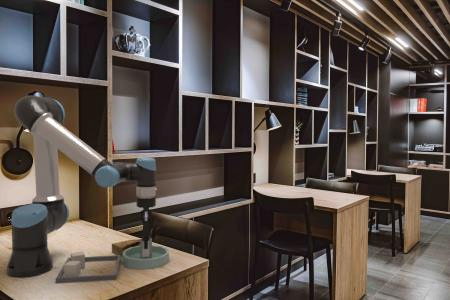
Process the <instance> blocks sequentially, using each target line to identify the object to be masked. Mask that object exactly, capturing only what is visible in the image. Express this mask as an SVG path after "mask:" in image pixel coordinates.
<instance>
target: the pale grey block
mask: <svg viewBox="0 0 450 300" xmlns="http://www.w3.org/2000/svg"><path fill="white" fill-rule="evenodd" d="M85 257H86V255H85V253H84V251H82V250H81V251H76V252H70V258H71V261H80V263H81V269H84V268H86V262H85Z"/></svg>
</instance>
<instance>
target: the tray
mask: <svg viewBox="0 0 450 300" xmlns="http://www.w3.org/2000/svg"><path fill="white" fill-rule="evenodd" d="M69 261H71V257H68V258H67V259H66V261H65V262H64V264H63V266H62V268H61V269H60V271H59V272H58V274H57V276H56V277H55V283H56V284H62V283H63V284H64V283H80V282H81V283H82V282H94V281H95V282H96V281H97V282H99V281H112V280H114V281H115V280H117V279H118V274H119V269H120V265H121V261H122V257H121V255H116V254H112V255H99V256H98V255H95V256H85V263H86V262H88V263H89V262H105V261H116V263H115V268H114V272H113V273H107V274H92V275H91V274H90V275H80V276H72V277H64V265H65V264H66V263H68V262H69Z"/></svg>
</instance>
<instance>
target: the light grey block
mask: <svg viewBox="0 0 450 300" xmlns="http://www.w3.org/2000/svg"><path fill="white" fill-rule="evenodd" d="M64 264H65V263H64ZM64 264H63V266H64V275H63V277H72V276H82V274H81V269H82V268H81V263H80V261H69V262H68V263H66V264H65V265H64Z"/></svg>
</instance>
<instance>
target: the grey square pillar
mask: <svg viewBox="0 0 450 300" xmlns="http://www.w3.org/2000/svg"><path fill="white" fill-rule="evenodd" d="M149 238H150V239H149V257H151V256H152V245H153V238H152V237H149ZM141 257H142V241H141Z"/></svg>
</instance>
